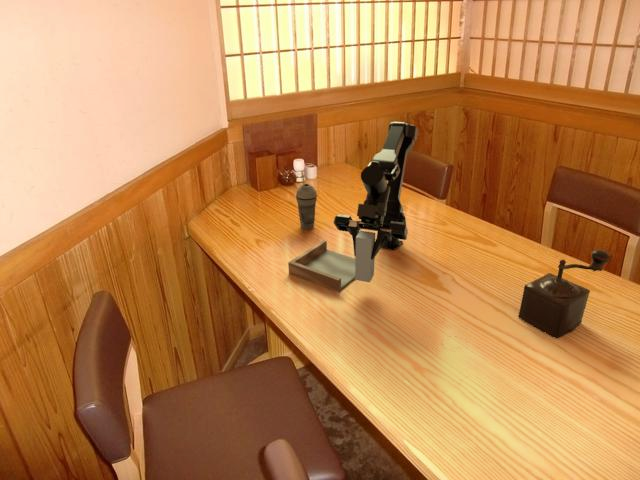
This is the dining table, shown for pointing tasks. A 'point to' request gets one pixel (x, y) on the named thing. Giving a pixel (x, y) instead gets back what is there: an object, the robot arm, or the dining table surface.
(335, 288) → the tray
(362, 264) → the slate block
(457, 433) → the dining table surface
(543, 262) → the dining table surface
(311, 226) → the beverage cup
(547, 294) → the manual coffee grinder
